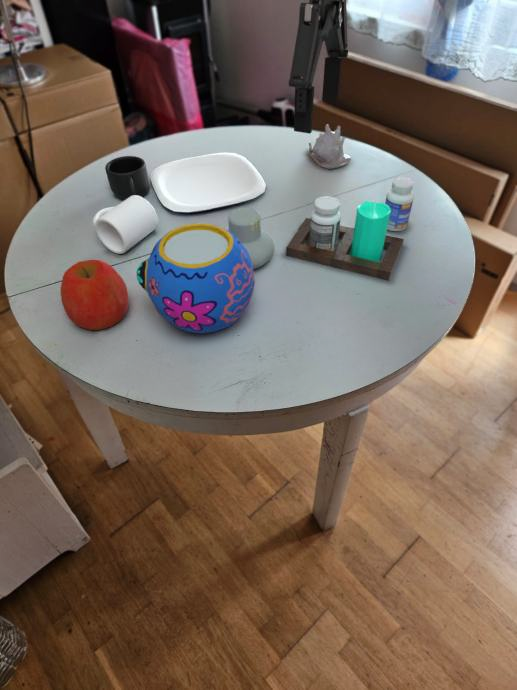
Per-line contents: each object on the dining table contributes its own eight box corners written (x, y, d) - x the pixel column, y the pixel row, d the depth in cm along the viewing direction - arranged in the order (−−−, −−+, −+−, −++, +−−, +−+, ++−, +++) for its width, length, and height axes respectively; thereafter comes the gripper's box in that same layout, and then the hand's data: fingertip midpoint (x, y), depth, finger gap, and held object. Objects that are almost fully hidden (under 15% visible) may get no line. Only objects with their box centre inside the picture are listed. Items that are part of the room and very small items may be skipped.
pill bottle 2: (399, 235, 97) (409, 192, 90) (376, 226, 100) (384, 183, 93) (411, 223, 100) (422, 181, 93) (389, 215, 103) (397, 173, 95)
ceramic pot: (193, 272, 91) (182, 201, 80) (274, 301, 84) (274, 230, 73) (134, 328, 81) (112, 256, 70) (220, 366, 74) (211, 295, 63)
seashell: (329, 174, 115) (332, 136, 109) (294, 158, 122) (296, 121, 115) (356, 161, 120) (361, 123, 113) (321, 146, 126) (324, 109, 119)
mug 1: (110, 188, 113) (102, 159, 108) (147, 181, 115) (141, 152, 110) (117, 213, 106) (109, 183, 100) (156, 205, 107) (151, 176, 102)
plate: (240, 153, 124) (239, 147, 123) (276, 200, 108) (276, 193, 106) (145, 171, 118) (143, 165, 117) (168, 224, 102) (166, 217, 101)
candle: (387, 255, 93) (399, 200, 84) (369, 269, 90) (380, 214, 81) (361, 243, 96) (370, 189, 87) (344, 257, 93) (351, 202, 84)
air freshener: (280, 256, 93) (281, 211, 86) (260, 280, 89) (259, 235, 81) (233, 241, 97) (230, 197, 90) (211, 263, 92) (206, 218, 85)
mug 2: (161, 234, 99) (154, 200, 94) (129, 259, 94) (120, 224, 88) (119, 219, 104) (110, 185, 98) (86, 242, 98) (74, 208, 92)
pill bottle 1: (321, 234, 98) (325, 191, 91) (342, 246, 95) (348, 202, 88) (303, 246, 95) (305, 202, 88) (324, 258, 93) (329, 214, 85)
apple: (107, 286, 88) (91, 238, 80) (145, 310, 83) (132, 262, 76) (58, 317, 83) (36, 269, 75) (96, 346, 78) (76, 297, 70)
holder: (402, 247, 95) (404, 238, 93) (388, 280, 88) (390, 272, 86) (305, 225, 101) (306, 217, 99) (286, 255, 94) (286, 247, 92)
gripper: (330, -66, 71) (320, 87, 86) (264, -37, 56) (266, 142, 71) (379, -64, 69) (360, 92, 84) (324, -34, 53) (313, 150, 69)
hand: (317, 115), depth 78 cm, fingers open, 13 cm apart
